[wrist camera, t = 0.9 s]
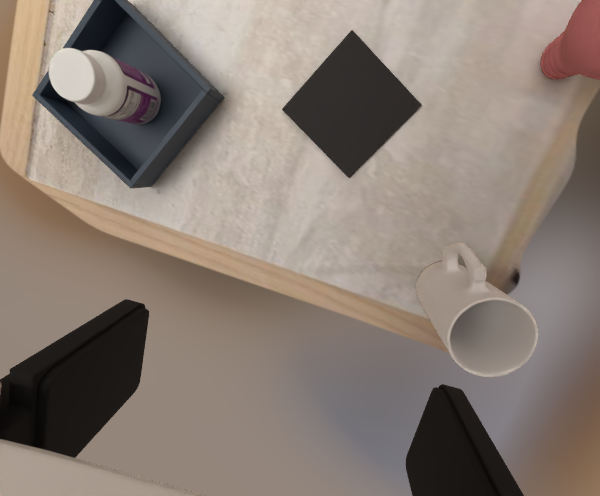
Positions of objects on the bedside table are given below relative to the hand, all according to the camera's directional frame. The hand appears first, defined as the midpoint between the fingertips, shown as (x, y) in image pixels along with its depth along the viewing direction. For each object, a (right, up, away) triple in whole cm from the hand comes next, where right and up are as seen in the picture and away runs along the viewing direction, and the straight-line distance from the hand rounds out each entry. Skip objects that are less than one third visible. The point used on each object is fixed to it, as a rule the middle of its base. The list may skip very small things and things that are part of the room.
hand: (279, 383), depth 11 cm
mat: (+6, +19, +24) cm, 31 cm away
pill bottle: (-17, +20, +26) cm, 37 cm away
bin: (-17, +20, +26) cm, 37 cm away
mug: (+17, +1, +27) cm, 32 cm away
